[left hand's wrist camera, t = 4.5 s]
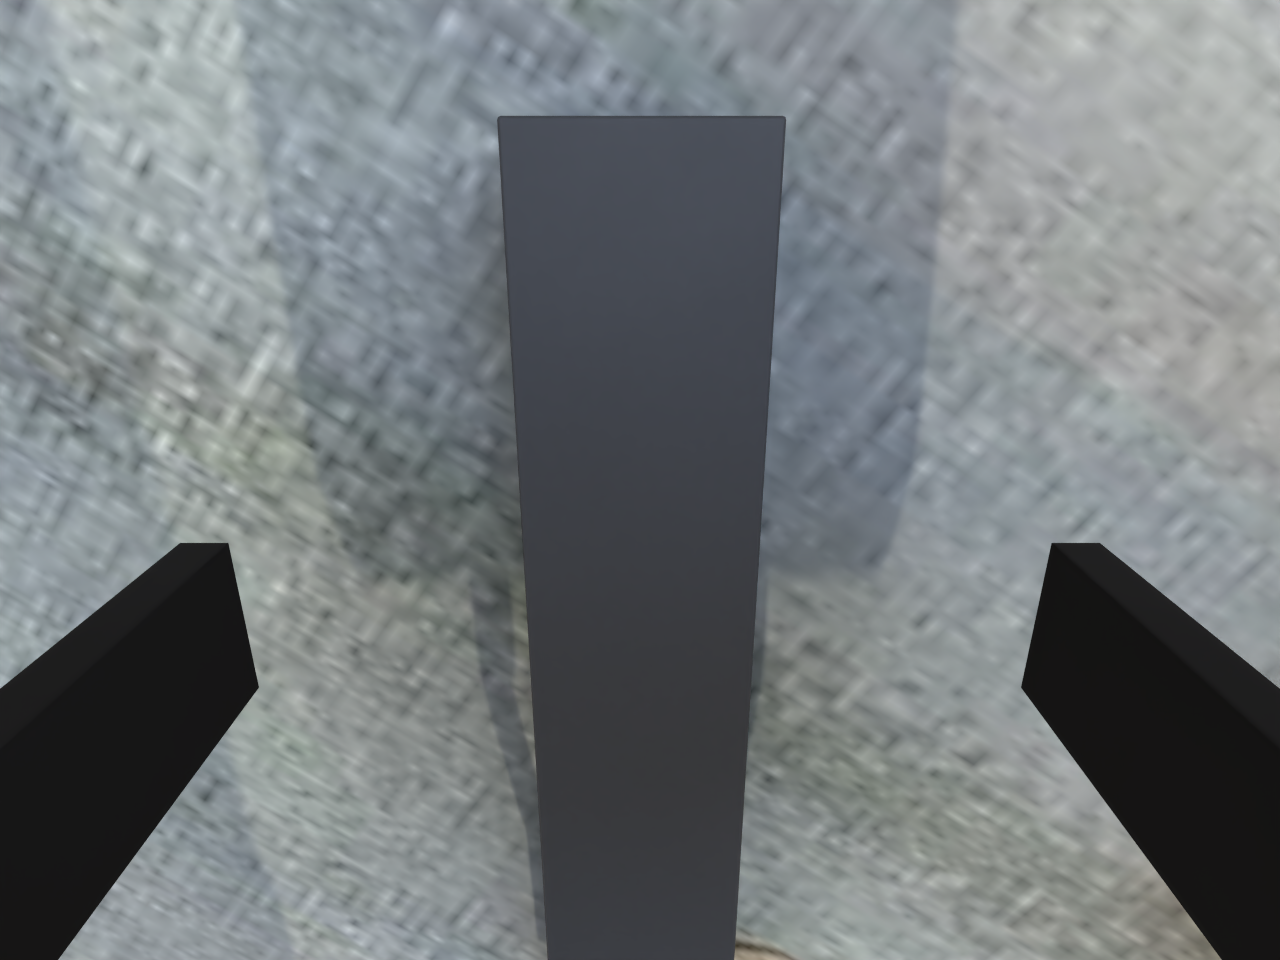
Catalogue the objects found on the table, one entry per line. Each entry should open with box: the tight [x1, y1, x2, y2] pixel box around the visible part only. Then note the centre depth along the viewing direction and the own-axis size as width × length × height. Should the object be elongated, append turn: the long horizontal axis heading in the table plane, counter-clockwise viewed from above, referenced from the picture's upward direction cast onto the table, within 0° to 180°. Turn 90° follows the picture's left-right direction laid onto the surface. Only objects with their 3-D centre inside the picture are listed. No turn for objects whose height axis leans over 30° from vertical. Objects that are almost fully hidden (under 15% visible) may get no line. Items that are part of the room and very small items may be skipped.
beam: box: [497, 116, 786, 960], centre depth 28 cm, size 51×6×8 cm, turn 0°
